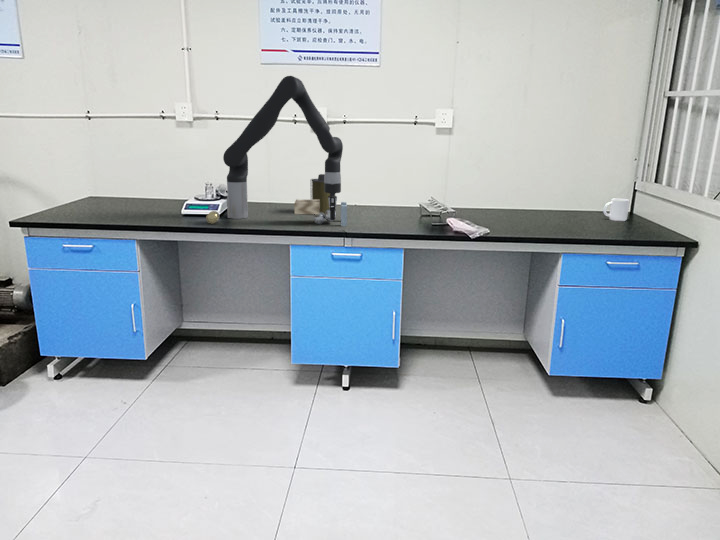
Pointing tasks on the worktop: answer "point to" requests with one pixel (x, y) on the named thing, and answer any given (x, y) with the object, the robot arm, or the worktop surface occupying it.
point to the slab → (307, 206)
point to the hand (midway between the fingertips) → (332, 218)
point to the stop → (343, 214)
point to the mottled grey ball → (328, 215)
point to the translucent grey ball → (319, 218)
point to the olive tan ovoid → (212, 217)
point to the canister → (320, 193)
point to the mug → (617, 209)
